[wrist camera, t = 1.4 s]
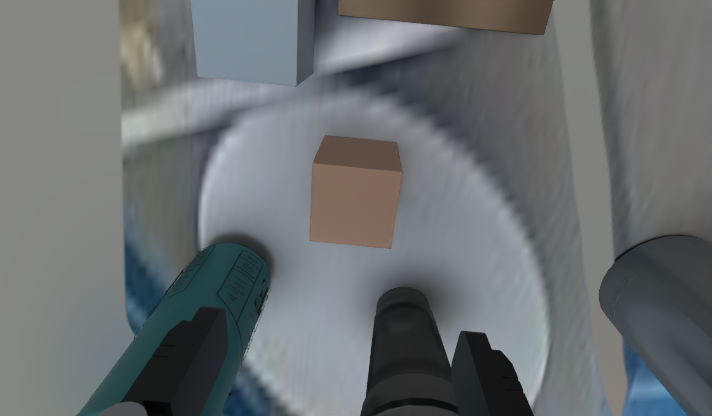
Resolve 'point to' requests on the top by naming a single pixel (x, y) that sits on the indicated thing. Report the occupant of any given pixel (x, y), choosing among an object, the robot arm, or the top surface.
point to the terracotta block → (355, 192)
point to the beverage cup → (407, 360)
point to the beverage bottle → (192, 290)
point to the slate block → (254, 40)
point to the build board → (457, 13)
